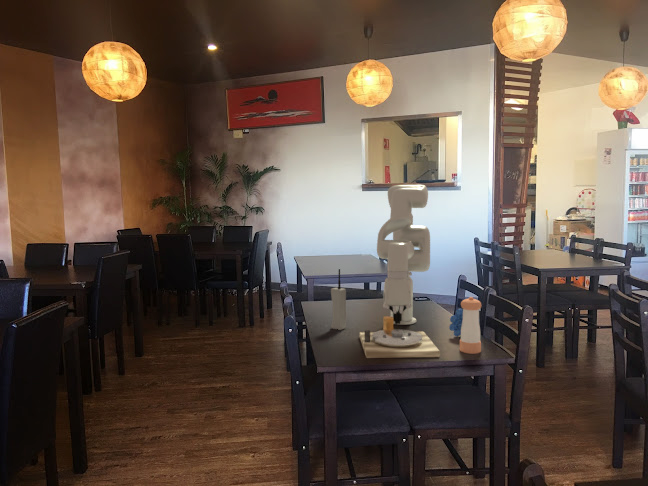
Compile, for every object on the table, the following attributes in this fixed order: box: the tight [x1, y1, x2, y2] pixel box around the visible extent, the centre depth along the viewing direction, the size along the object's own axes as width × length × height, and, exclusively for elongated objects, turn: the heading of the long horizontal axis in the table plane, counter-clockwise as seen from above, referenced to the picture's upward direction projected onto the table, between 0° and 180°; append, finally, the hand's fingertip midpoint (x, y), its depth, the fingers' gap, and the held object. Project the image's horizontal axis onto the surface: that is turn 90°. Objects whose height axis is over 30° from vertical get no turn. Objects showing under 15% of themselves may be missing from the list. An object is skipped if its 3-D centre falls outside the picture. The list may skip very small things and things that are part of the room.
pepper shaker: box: [459, 296, 483, 355], centre depth 178 cm, size 7×7×19 cm
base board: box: [359, 329, 441, 359], centre depth 184 cm, size 25×25×6 cm
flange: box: [372, 315, 422, 347], centre depth 184 cm, size 18×18×6 cm
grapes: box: [448, 308, 480, 337], centre depth 196 cm, size 12×7×12 cm, turn 90°
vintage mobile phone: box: [330, 268, 347, 331], centre depth 208 cm, size 4×5×25 cm
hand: (397, 322), depth 191 cm, fingers closed
